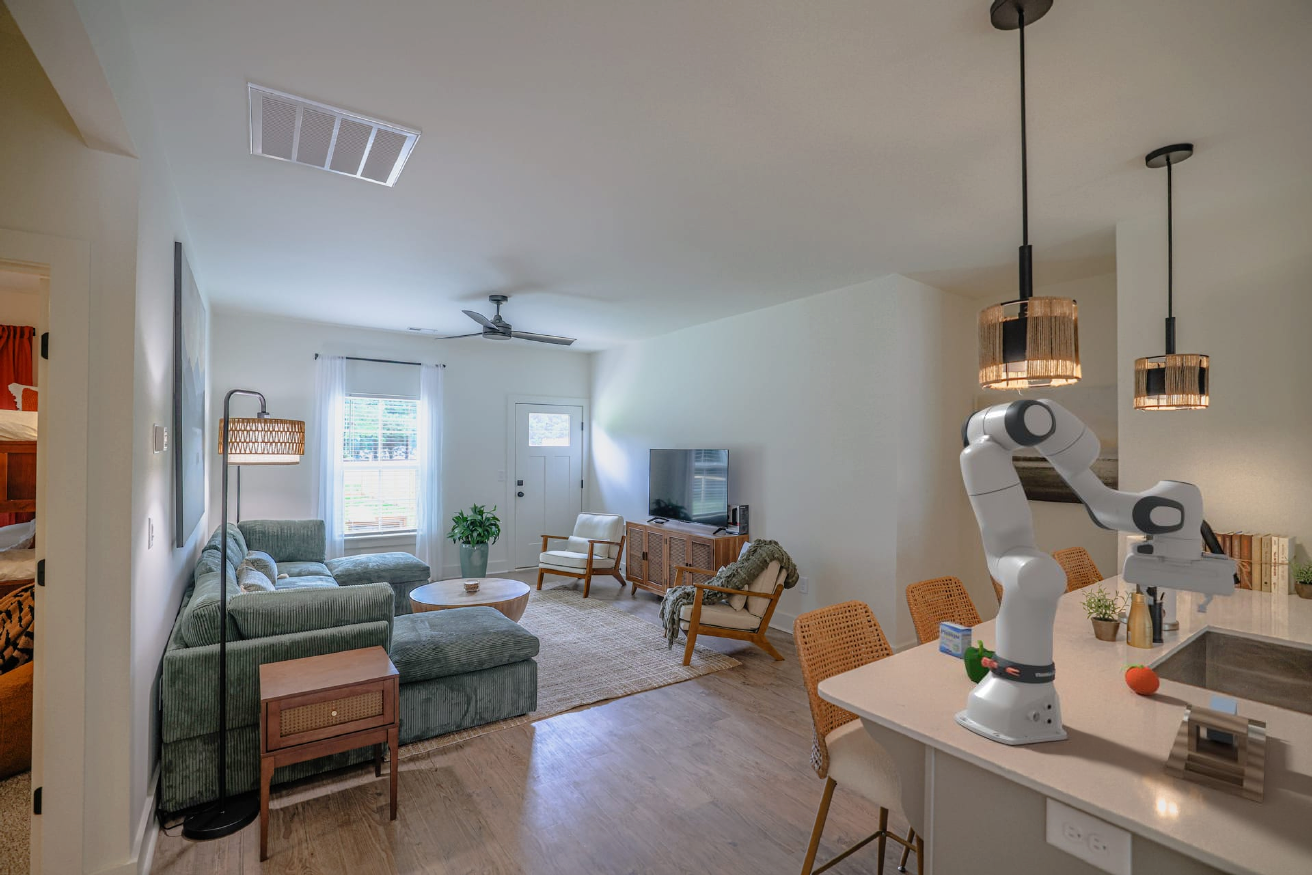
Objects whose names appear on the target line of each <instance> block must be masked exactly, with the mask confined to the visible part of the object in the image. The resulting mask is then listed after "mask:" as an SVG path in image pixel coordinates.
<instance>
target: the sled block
mask: <svg viewBox="0 0 1312 875" xmlns="http://www.w3.org/2000/svg"><path fill="white" fill-rule="evenodd" d="M1208 709H1212V710H1216V711H1220V712H1224V713H1229V714H1233V715H1237V716H1238V701H1237V700H1235V699H1231V698H1230V699H1229V698H1226V697H1221V696H1218V695H1212V696H1211V699H1210V703H1209V706H1208ZM1234 737H1235V735H1234V734H1230V733H1226V732H1222V731H1218V730H1214V729H1210V728H1207V738H1210V739H1213V740H1217V741H1221V742H1225V743H1229V744H1233V743H1234Z"/></svg>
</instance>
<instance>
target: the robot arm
mask: <svg viewBox="0 0 1312 875" xmlns="http://www.w3.org/2000/svg"><path fill="white" fill-rule="evenodd" d="M960 430H961V431H960V433H961V435H960V436H961V440H962V446H963V448H964V449H963V450H962V451H961V453H960V455H959V462H960V464H959V465H960V470H961V476H962V479H963V484H964V486H965V487H964V488H965V490H966V494H967V497H968V498H969V502H970V504H971V507H972V509H973V512H974V515H975V518H976V521H977V524H978V527H979V531H980V534H981V539H982V545H983V550H984V555H985V558H986V564H987V569H988V570H989V573H990V576H991V577H992V578H993V579H994V581H995V582H996V583H998V585H1000V586H1002V596H1001V597H1002V599H1001V603H1000V608H999V611H998V614H997V615H996V617H995V632H994V633H995V635H994V636H995V637H994V638H995V639H994V640H995V647H994V650H995V652H994V653H993V656H992V659H988V658H986V657H984V658H983V660H982V662H981V663H982V665H983V666H985V667H989V669H990V671H989V673H988V674H987V675H986V676H985V677H984V678H983V679H982V680H981V681H980V682H978V684H976V686H975V687H974V688H972V690H971V691H970V692H969V694H968V696H967V700H966V701H967V703H966V709H963V710H961V711H959V712H957V713H955V714H954V720H955V721H956V722H957V723H958V724H959V725H960V726H962V727H965V728H966V729H968V730H970V731H972V732H974V733H975V734H978V735H980V736H982V737H984V738H987V739H990V740H992V741H996V742H998V743H1002V744H1004V745H1009V746H1010V745H1011V746H1012V745H1014V746H1015V745H1025V744H1033V743H1035V744H1036V743H1043V742H1052V741H1062V740H1068V733H1067V732H1066V730H1064V728H1063V721H1062V712H1061V700H1060V695H1059V694H1058V692H1057V689H1056V688H1055V684H1054V681H1055V679H1056V672H1057V671H1056V663H1055V662H1054V661H1053V660H1054V659H1053V657H1054V656H1053V652H1054V644H1053V643H1054V624H1055V619H1056V615H1057V611H1058V607H1059V604H1060V603H1059V602H1060V599H1061V598H1062V596H1063V595H1064V594H1065V592H1066V590H1067V586H1068V577H1067V573H1066V572H1065V570H1064V569H1063V567H1062V566H1061V564H1060V563H1059V562H1058V561H1057V560H1056V559H1055V558H1054V557H1053V556H1051V555H1050V554H1048V553H1046V552H1043V551H1041V550H1040V549H1039V548H1038V546H1037V543H1036V540H1035V534H1034V528H1033V519H1034V517H1033V516H1034V515H1033V512H1032V509H1031V506H1030V504H1029V502H1028V498H1027V496H1026V493H1025V489H1024V487H1023V484H1022V482H1021V480H1020V477H1019V475H1018V472H1017V469H1016V468H1015V466H1014V465H1013V453H1014V451H1017V450H1021V449H1024V448H1029V447H1034V448H1035V449H1036V450H1037V451H1038V453H1040V455H1042V456H1043V457H1044V458H1045V459H1046V460H1047V461H1048V462H1049V463H1050V464H1051V466H1052V467H1053V469H1054V471H1055V472H1056V474H1057V475H1058V476H1059V477H1060V479H1061V480H1062V481H1063V482H1064V483H1065V484H1066V485H1067V487H1069V489H1070V490H1071V491H1072V493H1074V494H1075V495H1076V496H1077V498H1079V500H1080V501H1081V502H1082V504H1083V505H1084V506H1083V507H1084V508H1085V509H1086V512H1087V513H1088V514H1087V515H1088V516H1089V518H1090V519H1091V521H1092V523H1093V524H1094V525H1096V526H1097V527H1098V528H1099V529H1101V530H1102V529H1103V530H1106V531H1119V532H1126V533H1130V534H1131V533H1133V534H1139V535H1146V536H1152V538H1153V539H1151V540H1150V539H1149V540H1141V541H1135V542H1131V543H1130V545H1129V551H1130V552H1129V553H1128V554H1127V555H1126V557H1125V558H1124V564H1123V567H1122V574H1121V575H1122V576H1121V578H1122V580H1123V581H1124V582H1125V583H1128V584H1134V585H1139V589H1140V591H1141V593H1142V594H1143V596H1144V597H1145V603H1144V604H1145V605H1151V606H1154V597H1153V596H1151V595H1149V594H1148V592H1147V591H1148V588H1149V587H1155V588H1156V587H1157V588H1165V589H1171V590H1178V591H1185V592H1186V591H1187V592H1193V593H1194V592H1195V593H1200V594H1204V598H1205V600H1204V601H1203V602H1202V603H1197V608H1196V612H1198V613H1201V614H1207V607H1208V606H1209V604H1210V603H1211V602H1212V601H1213V600H1214V595H1216V596H1221V597H1232V596H1233V595H1235V593H1236V592H1235V591H1236V589H1235V588H1236V587H1235V586H1236V585H1235V578H1234V575H1235V574H1236V573H1237V570H1238V564H1237V563H1238V562H1237V561H1236V559H1234V558H1233V557H1230V556H1229V555H1228V554H1221V553H1220V554H1217V553H1212V552H1203V535H1202V533H1201V526H1202V525H1203V522H1204V503H1203V502H1204V500H1203V496H1202V491H1201V490H1200V487H1198V486H1197V485H1195V484H1193V483H1190V482H1185V481H1178V480H1173V479H1163V480H1160V481H1158V483H1157V484H1156V485H1155V486H1153V487H1151V488H1149V489H1146V490H1144V491H1140V492H1129V491H1120V490H1116V489H1113V488H1110V487H1107V486H1106V485H1105V484H1104V483H1103V482H1102V481H1101V480H1100V478H1099V477H1098V476H1097V475H1096V474H1095V473H1094V472H1093V470H1092V469H1091V468H1090V467H1091V466H1092V465H1094V463H1095V462H1096V461H1097V459H1098V458H1099V455H1100V453H1101V442H1100V440H1099V438H1098V437H1097V436H1096V434H1095V433H1094V431H1092V430H1091V428H1089V427H1088V426H1087V425H1086V424H1085V423H1084V422H1083V421H1082V420H1080V418H1078V417H1077V416H1076V415H1075V414H1073V413H1072V412H1071V411H1070V410H1068V409H1067V408H1065V407H1063V406H1062V405H1061V404H1059V403H1057V402H1056V401H1054V400H1052V399H1048V398H1038V399H1036V400H1035V399H1018V400H1015V401H1012V402H1007V403H998V404H995V405H992V406H989V407H986V408H984V409H981V410H980V409H979V410H977V411H974V412H972V413H971V414H969V416H967V417H966V418H965V419H964V420H963V422H962V425H961V429H960ZM1148 586H1149V587H1148Z"/></svg>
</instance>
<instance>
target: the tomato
mask: <svg viewBox="0 0 1312 875" xmlns="http://www.w3.org/2000/svg"><path fill="white" fill-rule="evenodd" d="M1125 668H1126V671H1125V674H1124V679H1125V680H1124V681H1125V682H1126V684H1127V686H1128V688H1129V689H1130V690H1132V691H1133V692H1134V693H1137V694H1141V695H1146V696H1147V695H1151V694H1154V693H1156V692H1157V691H1158V690H1159V688H1160V685H1161V684H1160V678H1159V676H1158V674H1157V673H1156V672H1155V671H1154V670H1152V669H1151V668H1150V667H1148V666H1145V665H1140V664H1139V665H1137V664H1129V665H1126V666H1124V667H1123V668H1121V669H1120V671H1119V673H1121V672H1122V671H1123V670H1124V669H1125ZM1127 668H1128V669H1127Z"/></svg>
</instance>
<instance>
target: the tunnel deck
mask: <svg viewBox="0 0 1312 875" xmlns="http://www.w3.org/2000/svg"><path fill="white" fill-rule="evenodd" d="M1207 728H1210V729H1214V730H1218V731H1222V732H1226V733H1230V734H1234V735H1235V737H1234V743H1233V744H1229V743H1225V742H1221V741H1217V740H1213V739H1210V738H1207ZM1266 731H1267V722H1266V721H1263V720H1258V719H1253V718H1250V717H1245V716H1241V715H1238V714H1237V715H1233V714H1229V713H1224V712H1220V711H1216V710H1212V709H1209V708H1206V707H1202V706H1198V705H1194V704H1189V703H1186V709H1185V712H1184V715H1183V718H1182V719H1181V723H1180V726H1179V728H1178V731H1177V733H1176V737H1175V738H1174V742H1173V744H1172V746H1171V747H1172V748H1171V749H1170V751H1169V755H1168V757H1167V759H1166V763H1165V774H1166V775H1169V776H1172V777H1176V778H1177V779H1182V780H1185V781H1188V782H1191V783H1195V784H1198V785H1202V786H1205V787H1208V788H1213V789H1216V790H1218V791H1222V792H1225V793H1229V794H1232V795H1235V796H1238V797H1240V798H1244V799H1248V800H1252V801H1255V802H1259V803H1262V804H1263V803H1264V785H1265V766H1266V765H1265V763H1266V744H1267V743H1266V741H1267V739H1266V738H1267V732H1266Z"/></svg>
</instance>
